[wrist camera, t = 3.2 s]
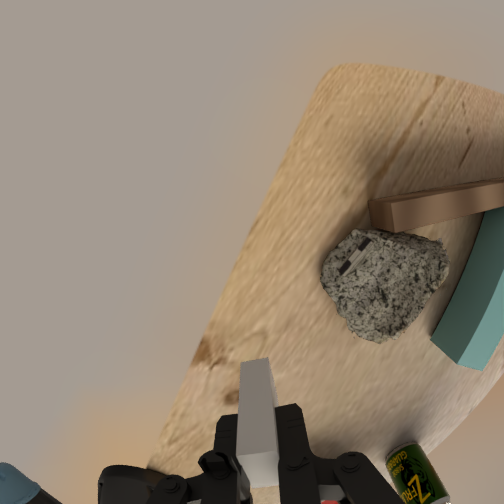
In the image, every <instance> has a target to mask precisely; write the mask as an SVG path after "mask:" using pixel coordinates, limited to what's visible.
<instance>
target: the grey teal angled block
mask: <svg viewBox="0 0 504 504" xmlns="http://www.w3.org/2000/svg"><path fill="white" fill-rule="evenodd" d="M503 334H504V206H502V207H498V208H494V209H490V210H486V211H485V214H484V217H483V221H482V224H481V227H480V230H479V233H478V236H477V239H476V241H475V244H474V247H473V250H472V252H471V255H470V257H469V260H468V262H467V265H466V267H465V270H464V272H463V274H462V277H461V279H460V281H459V284H458V286H457V288H456V290H455V292H454V295H453V297H452V299H451V301H450V303H449V305H448V307H447V309H446V311H445V313H444V315H443V317H442V319H441V321H440V322H439V324H438V326H437V328H436V330H435V332H434V333H433V335H432V337H431V339H430V340H431V341H432V342H433V343H434V344H435V345H436V346H438V347H439V348H440V349H441V350H442V351H443V352H444V353H445V354H446V355H447V356H448V357H450V358H451V359H452V360H453V361H454V362H455V363H456V364H458V365H461V366H465V367H469V368H472V369H476V370H480V371H483V369H484V368H485V366H486V364H487V363H488V361H489V359H490V357H491V356H492V354H493V352H494V350H495V349H496V347H497V345H498V343H499V341H500V339H501V337H502V336H503Z"/></svg>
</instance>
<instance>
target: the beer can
mask: <svg viewBox="0 0 504 504" xmlns="http://www.w3.org/2000/svg"><path fill="white" fill-rule="evenodd" d="M385 465H386V468H387V470H388V472H389V474H390V476H391V479H392V481H393V483H394V485H395V488H396V489H397V492H398V494H399V496H400V497H401V499H402V500H403V501H404V502H405V503H406V504H451V502H450V496H449V494H448V492H447V490H446V489H445V487H444V485H443V483H442V482H441V480H440V478H439V476H438V475H437V473H436V471H435V470H434V468H433V466H432V465H431V463H430V461H429V459H428V458H427V456H426V454H425V453H424V451H423V450H422V448H421V446H420V445H419V444H417V443H415V442H408V443H405V444H402V445H400V446H398V447H397V448H395V449H394V450H393V451H392V452H391V453H389V455H388V456H387V458H386V464H385Z"/></svg>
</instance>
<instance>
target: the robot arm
mask: <svg viewBox="0 0 504 504" xmlns="http://www.w3.org/2000/svg"><path fill="white" fill-rule="evenodd" d="M198 464H199V465H200V467H201V468H202V470H203V471H204V473H202V474H200V475H198V476H195V477H191V478H187V479H184V478H183V477H181V476H179V475H168V476H165V475H163V474H160V473H157V472H154V471H151V470H147V469H143V468H139V467H134V466H128V465H112V466H108V467H106V468H104V470H103V471H102V473H101V475H100V478H99V480H98V504H253V498H252V495H251V493H250V485H251V487H252V488H261V487H269V486H277V485H279V490H280V502H281V504H321V501H320V500H330V501H337V503H338V504H406V503H405V502H404V501H403V500H402V499H401V497H400V496H399V495H398V494H397V493H396V492H395V490H394V489H393V488H392V487H391V486H390V484H389V483H388V482H387V481H386V480H385V478H384V477H383V476H382V475H381V474H380V472H379V471H378V470H377V469H376V467H375V466H374V465H373V464H372V463H371V461H370V460H369V459H368V458H367V457H366V456H365V455H364V454H363V453H360V452H347V453H344V454H342V455H341V456H339V457H338V458H337V459H323V458H320V457H317V456H315V455H314V454H313V453H312V452H311V450H310V447H309V442H308V437H307V432H306V427H305V423H304V418H303V413H302V409H301V408H300V407H299V406H298V405H297V404H296V403H294V404H289V405H284V406H278V397H277V391H276V387H275V383H274V379H273V375H272V371H271V367H270V363H269V359H268V357H267V358H262V359H257V360H251V361H246V362H241V370H240V388H239V406H238V414H231V415H223V416H221V418H220V419H219V421H218V422H217V425H216V433H215V440H214V448H213V450H211V451H208V452H206V453H204V454H203V455H202V456H201V457H200V458H199V461H198ZM0 504H62V503H61V502H59V501H58V500H57V499H55V498H54V497H52V496H51V495H50V494H48V493H47V492H46V491H44V490H43V489H42V488H41V487H40V486H39V485H38V484H37V483H36V482H33V481H32V480H30V479H29V478H28V477H26V476H25V475H24V474H22V473H21V472H20V471H19V470H18V469H16V468H15V467H14V466H12V465H11V464H8V463H4V462H2V463H0Z"/></svg>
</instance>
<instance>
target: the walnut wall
mask: <svg viewBox="0 0 504 504" xmlns="http://www.w3.org/2000/svg"><path fill="white" fill-rule="evenodd" d="M368 205H369V211H370V218H371V224H372V226H374V227H377V228H381V229H384V230H387V231H390V232H393V233H397V232H401V231H405V230H409V229H414V228H418V227H422V226H426V225H430V224H434V223H438V222H442V221H446V220H450V219H454V218H458V217H462V216H467V215H470V214H474V213H478V212H482V211H486V210H490V209H494V208H498V207H502V206H504V177H503V178H496V179H490V180H483V181H477V182H471V183H465V184H459V185H453V186H447V187H441V188H435V189H429V190H424V191H418V192H412V193H407V194H402V195H396V196H391V197H385V198H380V199H375V200H370V201H368Z"/></svg>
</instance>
